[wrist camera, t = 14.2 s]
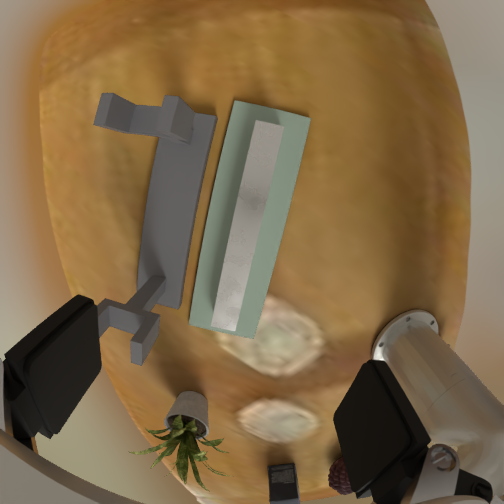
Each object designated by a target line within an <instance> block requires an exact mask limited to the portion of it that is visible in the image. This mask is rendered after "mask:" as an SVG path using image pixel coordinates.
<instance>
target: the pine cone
mask: <svg viewBox="0 0 504 504" xmlns="http://www.w3.org/2000/svg"><path fill="white" fill-rule="evenodd" d="M329 471H330V474H329V475H328V477H329V478H328V481H329V486H330V487H332V488H333V489H334V490H337V492H339V493H340V494H343V495H346V494H350V493H352V492H353V491H352V490H351V486H350V482H349V478H348V474H347V470H346V466H345V462H344V459H343V457H342V458H340V459H338V460H336V462H334V463H333V465H332V466H331V468H330V469H329Z"/></svg>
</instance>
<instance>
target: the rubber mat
mask: <svg viewBox="0 0 504 504" xmlns="http://www.w3.org/2000/svg"><path fill="white" fill-rule="evenodd" d="M256 120H258V121H263V122H267V123H272V124H276V125H280V126H284V130H283V134H282V139H281V143H280V147H279V151H278V155H277V160H276V164H275V168H274V172H273V176H272V181H271V185H270V189H269V193H268V197H267V201H266V206H265V210H264V214H263V218H262V222H261V227H260V231H259V235H258V239H257V243H256V247H255V251H254V256H253V260H252V264H251V268H250V272H249V276H248V281H247V285H246V289H245V293H244V297H243V301H242V305H241V310H240V314H239V318H238V322H237V326H236V330H235V331H230V330H226V329H221V328H217V327H212V326H211V323H212V318H213V313H214V308H215V303H216V298H217V293H218V288H219V283H220V278H221V273H222V268H223V263H224V258H225V253H226V249H227V244H228V239H229V234H230V230H231V225H232V221H233V216H234V212H235V207H236V203H237V198H238V194H239V189H240V185H241V180H242V176H243V172H244V167H245V163H246V159H247V155H248V151H249V146H250V142H251V138H252V134H253V130H254V126H255V122H256ZM310 120H311V118H308V117H304V116H301V115H297V114H293V113H290V112H286V111H282V110H278V109H274V108H269V107H265V106H260V105H256V104H251V103H246V102H241V101H234V105H233V109H232V113H231V117H230V121H229V124H228V128H227V132H226V136H225V141H224V145H223V149H222V153H221V157H220V162H219V166H218V170H217V175H216V179H215V184H214V188H213V193H212V198H211V202H210V207H209V212H208V217H207V222H206V227H205V232H204V237H203V243H202V248H201V253H200V259H199V264H198V270H197V276H196V282H195V288H194V294H193V300H192V307H191V313H190V320H189V325H192V326H196V327H200V328H205V329H209V330H213V331H218V332H222V333H227V334H232V335H236V336H241V337H246V338H251V339H254V336H255V333H256V329H257V326H258V322H259V319H260V315H261V312H262V308H263V305H264V301H265V297H266V294H267V290H268V287H269V283H270V279H271V276H272V272H273V268H274V265H275V261H276V257H277V253H278V250H279V246H280V242H281V238H282V234H283V231H284V227H285V223H286V219H287V215H288V211H289V207H290V203H291V199H292V195H293V191H294V187H295V183H296V179H297V175H298V171H299V167H300V163H301V159H302V154H303V150H304V146H305V142H306V138H307V133H308V129H309V125H310Z"/></svg>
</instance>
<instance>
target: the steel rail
mask: <svg viewBox="0 0 504 504" xmlns="http://www.w3.org/2000/svg"><path fill="white" fill-rule="evenodd" d="M283 130H284V126H280V125H276V124H272V123H267V122H263V121H258V120H256V122H255V126H254V130H253V134H252V138H251V142H250V146H249V151H248V155H247V159H246V163H245V167H244V172H243V176H242V180H241V185H240V189H239V194H238V198H237V203H236V207H235V212H234V216H233V221H232V225H231V230H230V234H229V239H228V244H227V249H226V253H225V258H224V263H223V268H222V273H221V278H220V283H219V288H218V293H217V298H216V303H215V308H214V313H213V318H212V323H211V326H212V327H217V328H221V329H226V330H230V331H235V330H236V326H237V322H238V318H239V314H240V310H241V305H242V301H243V297H244V293H245V289H246V285H247V281H248V276H249V272H250V268H251V264H252V260H253V256H254V251H255V247H256V243H257V239H258V235H259V231H260V227H261V222H262V218H263V214H264V210H265V206H266V201H267V197H268V193H269V189H270V185H271V181H272V176H273V172H274V168H275V164H276V160H277V155H278V151H279V147H280V143H281V139H282V134H283Z"/></svg>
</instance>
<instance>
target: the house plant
mask: <svg viewBox="0 0 504 504" xmlns="http://www.w3.org/2000/svg"><path fill="white" fill-rule="evenodd" d="M164 424H165V426H166V428H167V429H164V430H157V431H154V430H148V429H146V428H145V429H146V430H147V431H148V432H149V433H151V434H152V435H153V436H155V437H157V438H159V439H161V440H168V441H166V442H164V443H163V444H161V445H160V444H159V446H156V447H153V448H149V449H147V450H145V451H142V452H130V453H133V454H147V453H151V452H154V451H157V450H159V449H161V448H162V447H168V448H167V449H166V450H165V451H164V452H162V453H161V454H160V453H159V454H160V456H159V457H158V458H157V459H156V461H155V462H154V463H153V465H152V467H154V466H155V465H156V464H157V463H158V462H159V461H161V459H162V458H163V457H164V456H169V455H171V454H172V453H173V451H174V450H175V448H176V447H177V445H178V444H179V443H180V446H179V449H178V453H177V461H176V462H175V463H176V465H177V471H178V474H179V476H180V478H181V480H182V481H184V483H185V484H186V481H187V472H188V455H189V459H190V462H191V465H192V469H193V473H194V476H195V479H196V481H197V482H198V484H199V485H200V486H202V487H203V488H204V489H205V490H207V489H206V488H205V486H204V485H203V483H202V482H201V480H200V477H199V473H198V470H197V467H196V465H195V462H194V459H195V460H196V461H205V460H207V457H206V456H205V455H206V453H207V452H204V451H200V449H199V447H198V445H197V441H196V440H198V441H200V440H199V439H202V438H203V439H204V440H205V441H207V442H202V441H200V442H201V443H202V444H204V445H207V446H212V447H213V448H215V449H216V450H218V451H220V452H224V453H229V452H225V451H221V450H219V449H218V448H216V447H215V446H217V445H219V444H220V443H221V442H222V441H223V439H224V438H223V439H218V440H212V441H208V440H206V439H205V438H204V437H206V436H207V435H208V433H209V425H208V402H207V399H206V398H205V397H204V396H203V395H201V394H199V393H197V392H194V391H184V392H182V393H180V394H179V396H178V397H177V399H176V401H175V402H174V404H173V406H172V407H171V409H170V411H169V413H168V414H167V416H166V418H165V420H164ZM167 430H169V431H170V434H168V435H166V436H163V437H159V436H156V435H154V434H159V433H163V432H165V431H167ZM180 441H181V442H180ZM202 452H204V453H202ZM193 457H194V458H193ZM175 463H173V464H175ZM170 465H171V464H170ZM176 465H175V466H176ZM204 465H205V464H204ZM207 465H208V464H207ZM205 466H206V465H205ZM208 466H209V465H208ZM206 467H207V466H206ZM209 467H210V466H209ZM207 468H208V467H207ZM210 468H211V467H210ZM173 469H174V468H173ZM208 469H209V468H208ZM211 469H212V468H211ZM211 469H209V470H211ZM212 470H214V469H212ZM212 470H211V471H212ZM214 471H215V470H214ZM214 471H212V472H214ZM216 472H218V471H216ZM216 472H214V473H216ZM220 473H222V472H220ZM169 474H170V473H169ZM216 474H219V473H216ZM219 475H223V474H219ZM223 476H228V475H223ZM233 477H234V476H233ZM207 491H209V490H207ZM209 492H210V491H209Z"/></svg>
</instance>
